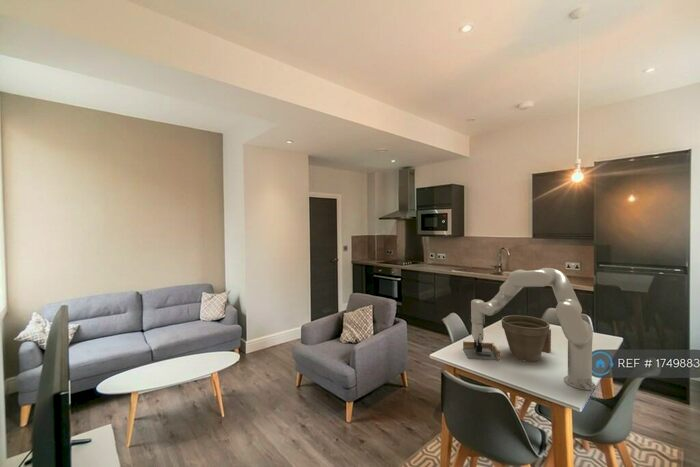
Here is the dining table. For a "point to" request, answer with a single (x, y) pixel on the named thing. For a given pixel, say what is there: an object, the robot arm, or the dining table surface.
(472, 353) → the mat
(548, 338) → the wooden block
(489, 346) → the walls
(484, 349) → the bracket
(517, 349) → the plant pot
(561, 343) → the dining table surface
